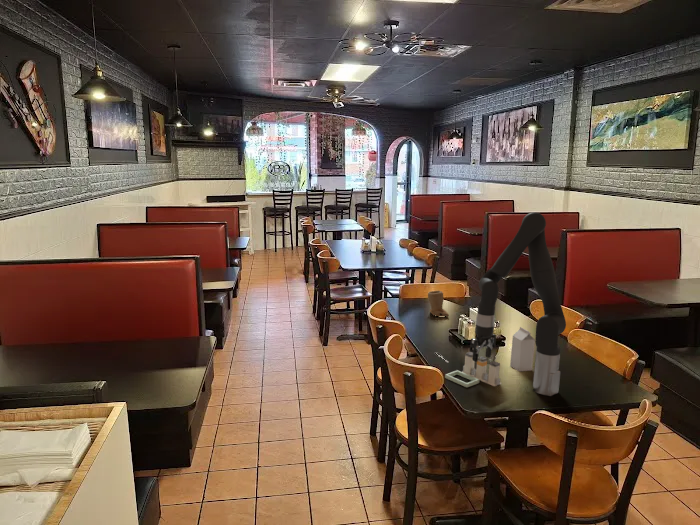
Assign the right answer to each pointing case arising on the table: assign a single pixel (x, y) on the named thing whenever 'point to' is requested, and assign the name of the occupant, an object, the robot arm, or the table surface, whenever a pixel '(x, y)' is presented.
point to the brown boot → (437, 303)
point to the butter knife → (442, 358)
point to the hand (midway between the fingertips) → (481, 359)
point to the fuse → (481, 367)
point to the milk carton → (522, 350)
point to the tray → (473, 379)
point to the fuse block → (490, 379)
